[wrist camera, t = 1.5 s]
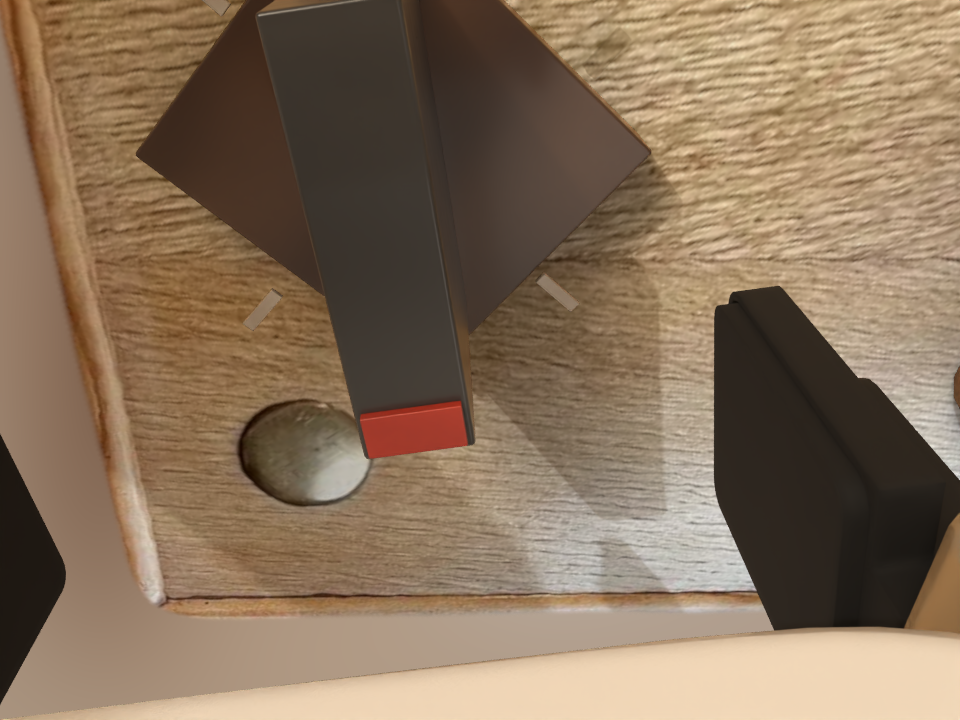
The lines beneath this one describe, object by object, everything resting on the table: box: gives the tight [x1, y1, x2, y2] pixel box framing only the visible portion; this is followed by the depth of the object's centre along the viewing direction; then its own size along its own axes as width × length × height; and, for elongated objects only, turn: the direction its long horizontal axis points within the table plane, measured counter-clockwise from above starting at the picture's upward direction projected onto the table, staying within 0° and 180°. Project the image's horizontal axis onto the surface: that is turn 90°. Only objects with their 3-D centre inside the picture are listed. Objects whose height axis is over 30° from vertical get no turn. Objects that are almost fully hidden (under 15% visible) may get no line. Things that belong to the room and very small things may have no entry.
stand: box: [136, 0, 651, 335], centre depth 23 cm, size 13×13×2 cm
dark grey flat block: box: [256, 0, 475, 459], centre depth 19 cm, size 9×2×7 cm, turn 8°
